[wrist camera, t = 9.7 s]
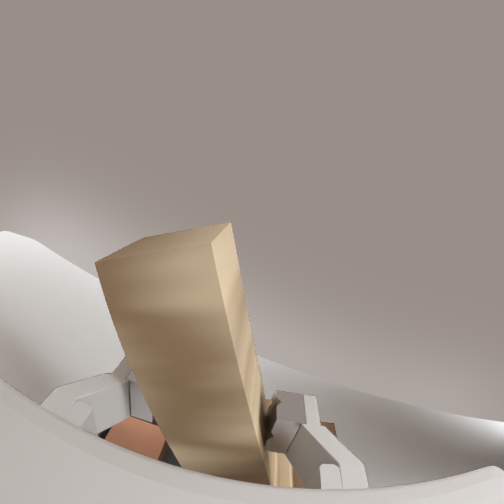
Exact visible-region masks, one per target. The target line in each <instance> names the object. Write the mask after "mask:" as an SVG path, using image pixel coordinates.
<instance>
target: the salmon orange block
mask: <svg viewBox="0 0 504 504" xmlns="http://www.w3.org/2000/svg"><path fill="white" fill-rule="evenodd" d="M104 440H107V441H109V442H111V443H113V444H116V445H118V446H121V447H123V448H126V449H128V450H131V451H133V452H136V453H139V454H141V455H144V456H147V457H150V458H153V459H156V460H159V461H162V462H164V460H165V457H166V454H167V452H168V443H167V441H166V439H165V437H164V436H163V434H162V432H161V430H160V428H159V426H157V425H154V424H151V423H148V422H145V421H142V420H139V419H137V418H134V417H131V416H130V417H129V418H127V419H125V420H123V421H121V422H119V423H117V424H115V425H114V426H112V428H111V429H110V431H109V433H108V434H107V436H106V438H105V439H104Z"/></svg>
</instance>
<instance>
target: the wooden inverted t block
mask: <svg viewBox="0 0 504 504" xmlns="http://www.w3.org/2000/svg"><path fill="white" fill-rule="evenodd" d="M95 265H96V269H97V272H98V276H99V279H100V283H101V286H102V290H103V293H104V296H105V299H106V302H107V305H108V308H109V311H110V314H111V317H112V320H113V323H114V326H115V329H116V331H117V334H118V337H119V339H120V342H121V345H122V347H123V350H124V352H125V355H126V357H127V360H128V362H129V365H130V367H131V369H132V372H133V374H134V376H135V379H136V381H137V383H138V385H139V387H140V390H141V392H142V394H143V396H144V398H145V400H146V402H147V404H148V407H149V409H150V411H151V413H152V415H153V417H154V419H155V420H156V422H157V424H158V426H159V428H160V430H161V432H162V434H163V436H164V437H165V439H166V441H167V443H168V445H169V446H170V448H171V450H172V451H173V453H174V455H175V457H176V458H177V460H178V462H179V463H180V465H181V467H182V468H185V469H189V470H192V471H196V472H200V473H204V474H209V475H213V476H218V477H222V478H227V479H232V480H238V481H244V482H250V483H257V484H264V485H272V486H281V487H293V466H292V465H291V463H290V462H289V460H288V459H287V457H286V455H285V454H283V453H276V452H270V451H265V450H264V436H265V432H266V429H265V418H266V413H267V410H268V407H269V405H271V404H272V399H271V400H266V399H265V395H264V390H263V385H262V380H261V375H260V370H259V365H258V360H257V355H256V351H255V346H254V340H253V335H252V330H251V325H250V320H249V315H248V310H247V305H246V300H245V295H244V290H243V285H242V280H241V274H240V268H239V263H238V258H237V252H236V247H235V242H234V236H233V231H232V225H231V222H229V223H223V224H217V225H211V226H205V227H200V228H194V229H189V230H183V231H178V232H172V233H166V234H162V235H156V236H151V237H145V238H142V239H140V240H138V241H136V242H134V243H132V244H130V245H128V246H126V247H124V248H122V249H120V250H118V251H116V252H114V253H112V254H110V255H108V256H106V257H104V258H103V259H101V260H99V261H97V262H95Z"/></svg>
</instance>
